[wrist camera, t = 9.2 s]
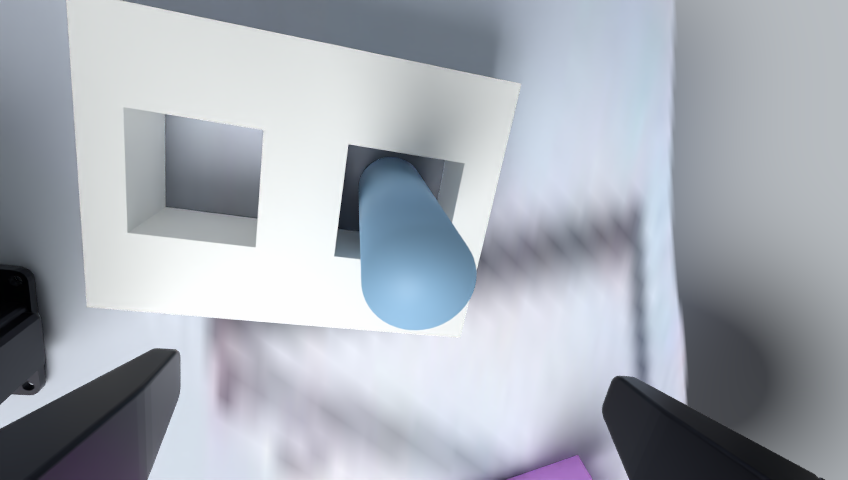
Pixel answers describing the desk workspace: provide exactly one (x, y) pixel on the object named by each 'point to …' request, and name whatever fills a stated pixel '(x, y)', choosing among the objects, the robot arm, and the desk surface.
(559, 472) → the bracket
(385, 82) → the hole block
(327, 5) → the desk surface
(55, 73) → the desk surface
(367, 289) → the peg
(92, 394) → the robot arm
